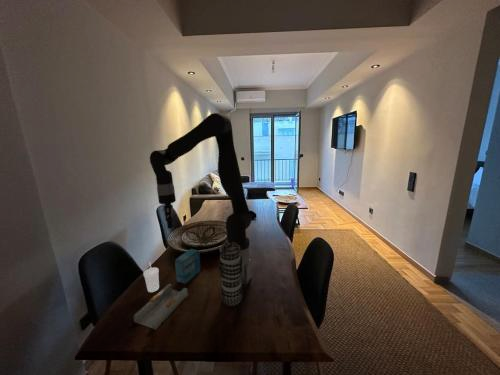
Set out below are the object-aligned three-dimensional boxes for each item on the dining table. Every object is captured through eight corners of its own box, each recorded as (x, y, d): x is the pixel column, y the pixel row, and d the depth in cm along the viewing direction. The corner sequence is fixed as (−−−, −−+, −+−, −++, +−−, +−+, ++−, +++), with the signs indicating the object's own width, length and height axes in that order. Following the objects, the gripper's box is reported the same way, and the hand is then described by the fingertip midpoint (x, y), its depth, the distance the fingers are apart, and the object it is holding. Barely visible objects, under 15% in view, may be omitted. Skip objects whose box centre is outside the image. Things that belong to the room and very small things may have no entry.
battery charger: (242, 220, 171) (242, 216, 170) (238, 216, 180) (238, 212, 179) (256, 218, 176) (256, 213, 176) (251, 214, 185) (251, 210, 184)
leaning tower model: (246, 306, 82) (244, 248, 76) (223, 311, 79) (219, 252, 74) (240, 290, 90) (238, 237, 85) (219, 295, 88) (216, 241, 82)
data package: (184, 285, 94) (182, 262, 91) (176, 283, 96) (174, 259, 93) (201, 270, 105) (199, 249, 102) (193, 268, 106) (192, 247, 104)
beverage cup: (162, 283, 95) (158, 256, 92) (159, 293, 89) (155, 264, 86) (148, 285, 94) (144, 258, 91) (144, 295, 88) (139, 266, 85)
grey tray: (188, 295, 88) (187, 287, 87) (155, 331, 71) (154, 322, 70) (169, 290, 91) (168, 282, 90) (134, 323, 75) (132, 314, 74)
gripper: (174, 194, 93) (178, 228, 96) (174, 189, 106) (178, 218, 109) (156, 197, 90) (161, 231, 93) (158, 190, 103) (163, 221, 107)
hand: (170, 224), depth 101 cm, fingers open, 8 cm apart
